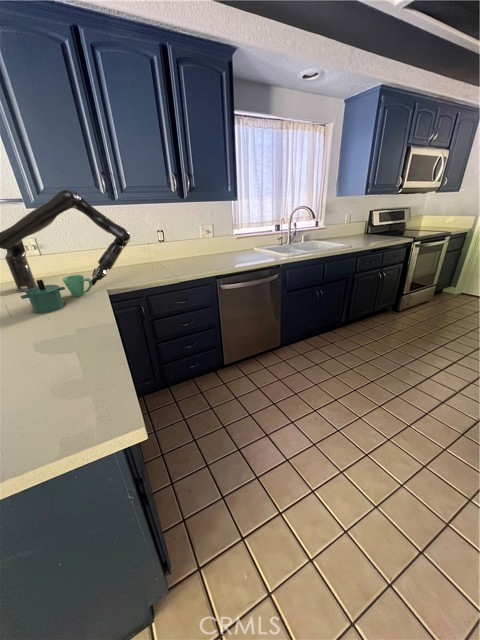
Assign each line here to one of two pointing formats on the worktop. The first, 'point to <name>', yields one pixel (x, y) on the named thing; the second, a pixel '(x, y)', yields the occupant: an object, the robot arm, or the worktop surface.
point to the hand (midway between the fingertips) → (91, 284)
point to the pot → (46, 301)
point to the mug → (76, 284)
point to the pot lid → (42, 289)
